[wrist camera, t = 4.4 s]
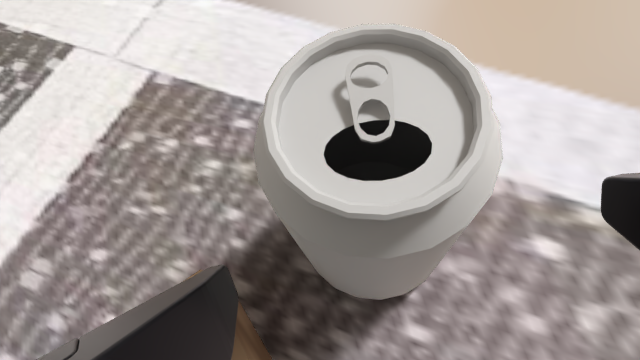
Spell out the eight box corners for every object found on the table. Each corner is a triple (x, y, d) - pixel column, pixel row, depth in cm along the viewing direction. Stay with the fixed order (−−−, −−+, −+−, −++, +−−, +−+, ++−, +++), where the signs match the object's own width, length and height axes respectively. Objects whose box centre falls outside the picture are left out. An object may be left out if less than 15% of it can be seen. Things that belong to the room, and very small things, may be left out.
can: (307, 307, 20) (231, 256, 9) (302, 175, 23) (240, 18, 12) (456, 296, 19) (564, 228, 9) (430, 161, 22) (486, -16, 12)
